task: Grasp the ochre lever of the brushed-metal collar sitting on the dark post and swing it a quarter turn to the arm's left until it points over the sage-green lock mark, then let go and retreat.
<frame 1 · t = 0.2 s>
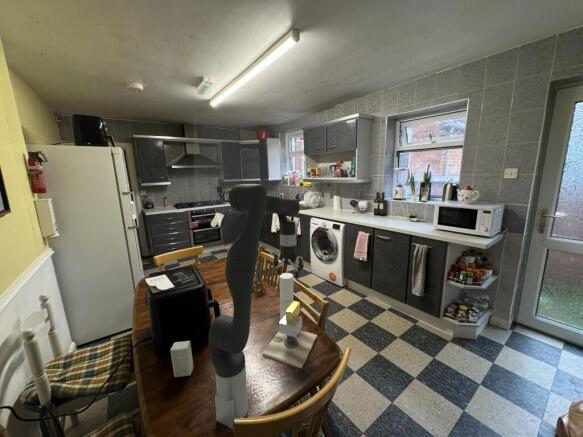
hand: (288, 276, 110), 29 cm above the table, fingers open, 8 cm apart
skincare box: (183, 372, 92), on the table
post base: (291, 345, 106), on the table
coupling: (292, 317, 105), point 13 cm above the table, hinge at 0.0°
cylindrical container: (287, 319, 125), on the table
eiffel tower: (258, 292, 155), on the table
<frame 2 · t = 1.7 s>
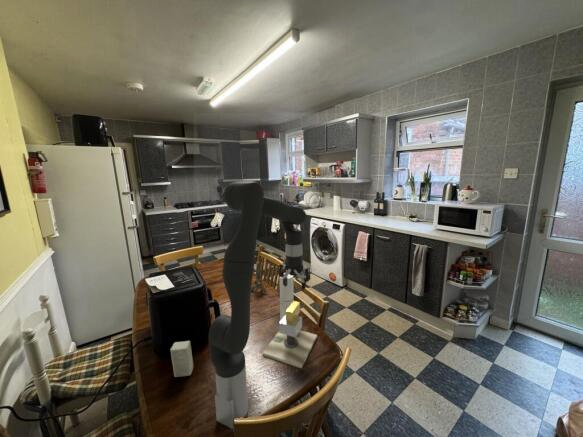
hand: (294, 287, 105), 26 cm above the table, fingers open, 8 cm apart
nothing on the table moved.
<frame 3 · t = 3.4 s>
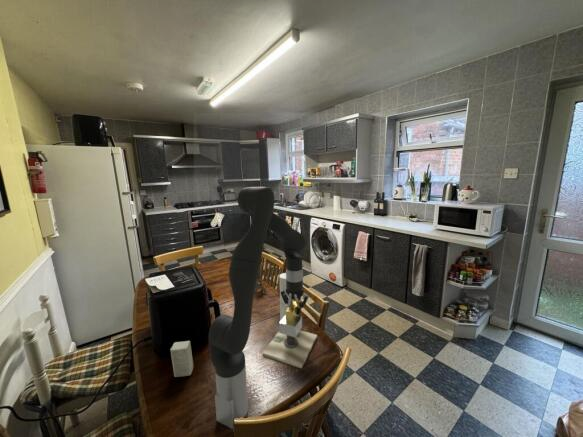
hand: (294, 313, 107), 14 cm above the table, fingers closed on coupling, 3 cm apart
coupling: (292, 317, 105), point 13 cm above the table, hinge at 0.0°, touching gripper
everything else where it was.
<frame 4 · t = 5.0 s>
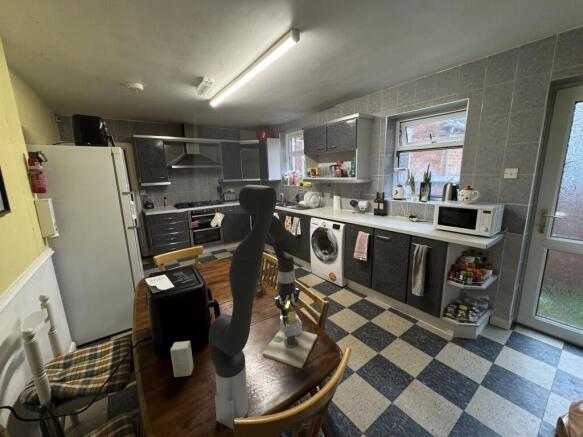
hand: (288, 313, 107), 14 cm above the table, fingers closed on coupling, 4 cm apart
coupling: (289, 317, 105), point 13 cm above the table, hinge at 43.2°, touching gripper
everything else where it was.
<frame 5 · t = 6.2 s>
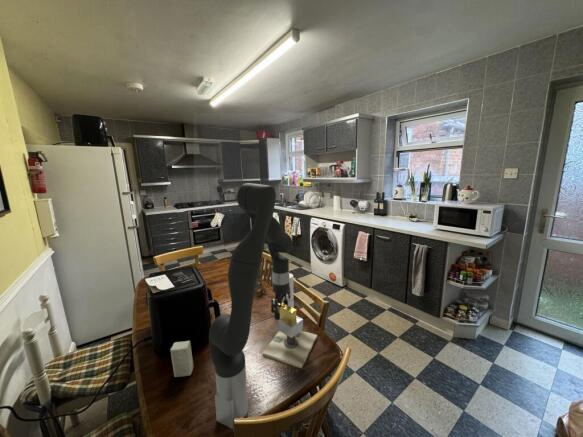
hand: (281, 314, 105), 15 cm above the table, fingers open, 8 cm apart
coupling: (288, 318, 105), point 13 cm above the table, hinge at 72.3°
everything else where it was.
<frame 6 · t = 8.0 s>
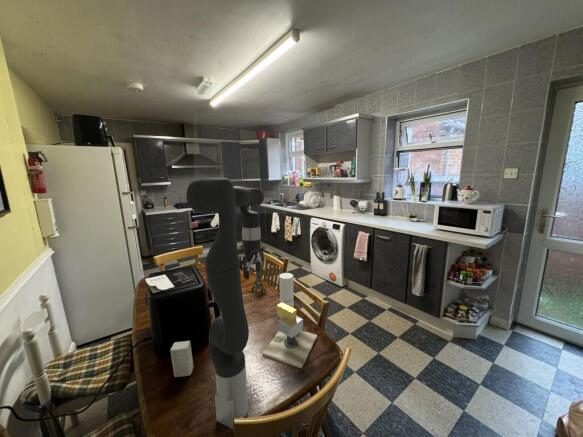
hand: (252, 275, 98), 35 cm above the table, fingers open, 8 cm apart
nothing on the table moved.
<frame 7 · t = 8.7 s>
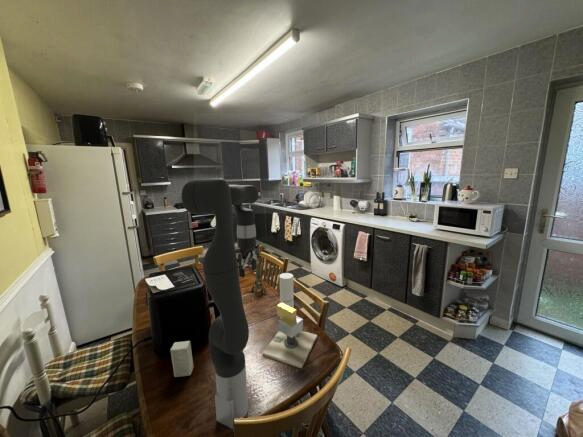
hand: (248, 272, 97), 36 cm above the table, fingers open, 8 cm apart
nothing on the table moved.
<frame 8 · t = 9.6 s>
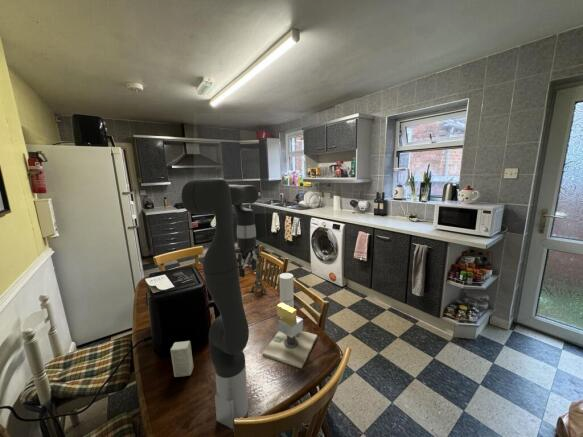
hand: (248, 272, 97), 36 cm above the table, fingers open, 8 cm apart
nothing on the table moved.
at the end: coupling at +72° (first picture: +0°); the gripper is holding nothing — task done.
